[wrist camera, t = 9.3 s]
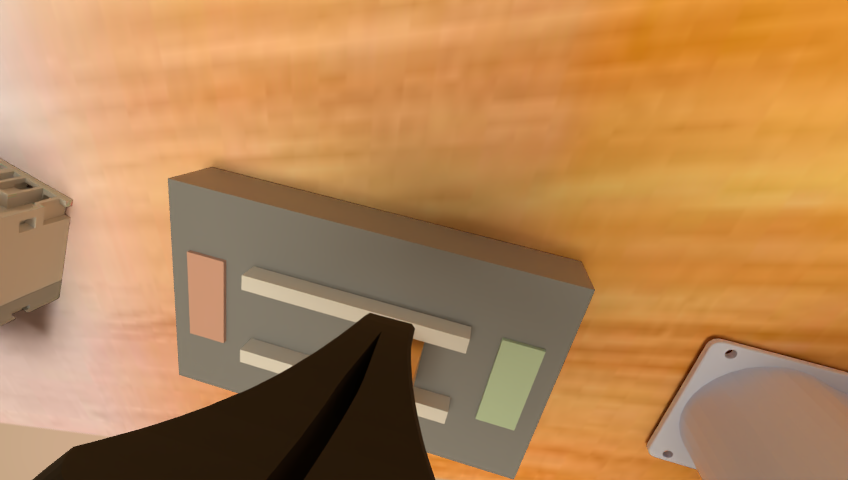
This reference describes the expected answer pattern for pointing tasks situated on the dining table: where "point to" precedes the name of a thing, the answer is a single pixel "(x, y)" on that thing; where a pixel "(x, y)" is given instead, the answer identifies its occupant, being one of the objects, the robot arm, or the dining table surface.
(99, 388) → the dining table surface
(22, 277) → the circuit breaker
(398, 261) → the slider control box
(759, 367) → the robot arm
